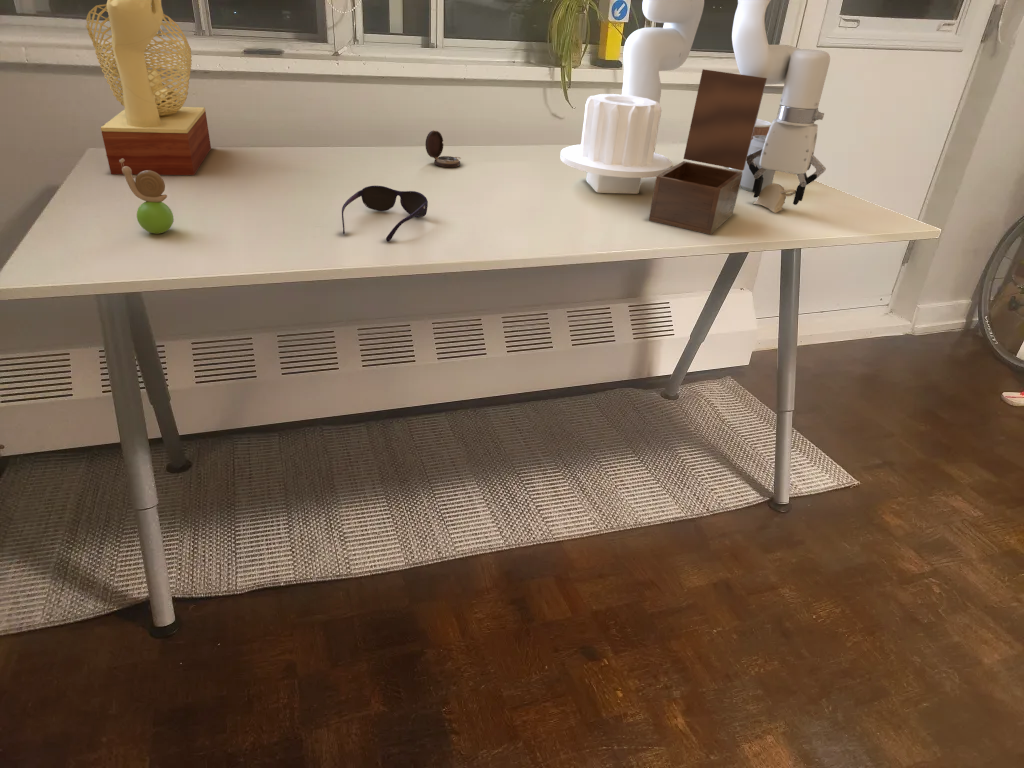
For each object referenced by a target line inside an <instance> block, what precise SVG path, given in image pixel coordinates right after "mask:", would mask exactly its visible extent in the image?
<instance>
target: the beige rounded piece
mask: <svg viewBox="0 0 1024 768" xmlns="http://www.w3.org/2000/svg"><path fill="white" fill-rule="evenodd" d="M795 193H796V189H785V187H784V186H782V185H781V184H779V183H775V182H772V184H769V185H767V186H766V187H765V188H764V189H763V190H762V191H761V192H760V195H759V196H758V197H757V198H756V201H753V203H752V204H753V205H760V206H763V207H765V208H766V209H769V210H770V211H771V212H772V213H774V214H776V213H779V212H781V211H783V210H784V208H783V206H784V204H785V203H786V199H787V197H790V196H795Z"/></svg>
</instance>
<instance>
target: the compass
mask: <svg viewBox="0 0 1024 768" xmlns="http://www.w3.org/2000/svg"><path fill="white" fill-rule="evenodd" d="M443 142H444V138H443V135H442V133H441V132H440V131H438V130H434V129H433V130H430V131H429V132H428V133H427V136H426V137H425V143H424V144H425V151H426V153H427V155H428V156H429V157H430V158H432V159H434V165H436V166H438V167H441V168H456V167H459V166H460V165H461V159H462V157H460V156H449V155H442V153H443V149H444V143H443Z"/></svg>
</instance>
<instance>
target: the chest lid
mask: <svg viewBox="0 0 1024 768" xmlns="http://www.w3.org/2000/svg"><path fill="white" fill-rule="evenodd" d="M766 80H767V78H762V77H755V76H748V75H741V74H740V73H731V72H727V71H719V70H712V69H702V71H701V75H700V80H699V85H698V89H697V94H696V98H695V103H694V108H693V113H692V117H691V121H690V126H689V131H688V136H687V139H686V140H687V141H686V145H685V150H684V155H683V160H685V161H686V160H687V161H693V162H698V163H702V164H707V165H714V166H718V167H724V168H727V169H729V168H733V169H738V170H744V167H745V163H746V159H747V155H748V151H749V147H750V144H751V140H752V136H753V132H754V128H755V124H756V120H757V119H758V115H759V112H760V108H761V103H762V99H763V96H764V91H765V87H766V85H765V84H766Z"/></svg>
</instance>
